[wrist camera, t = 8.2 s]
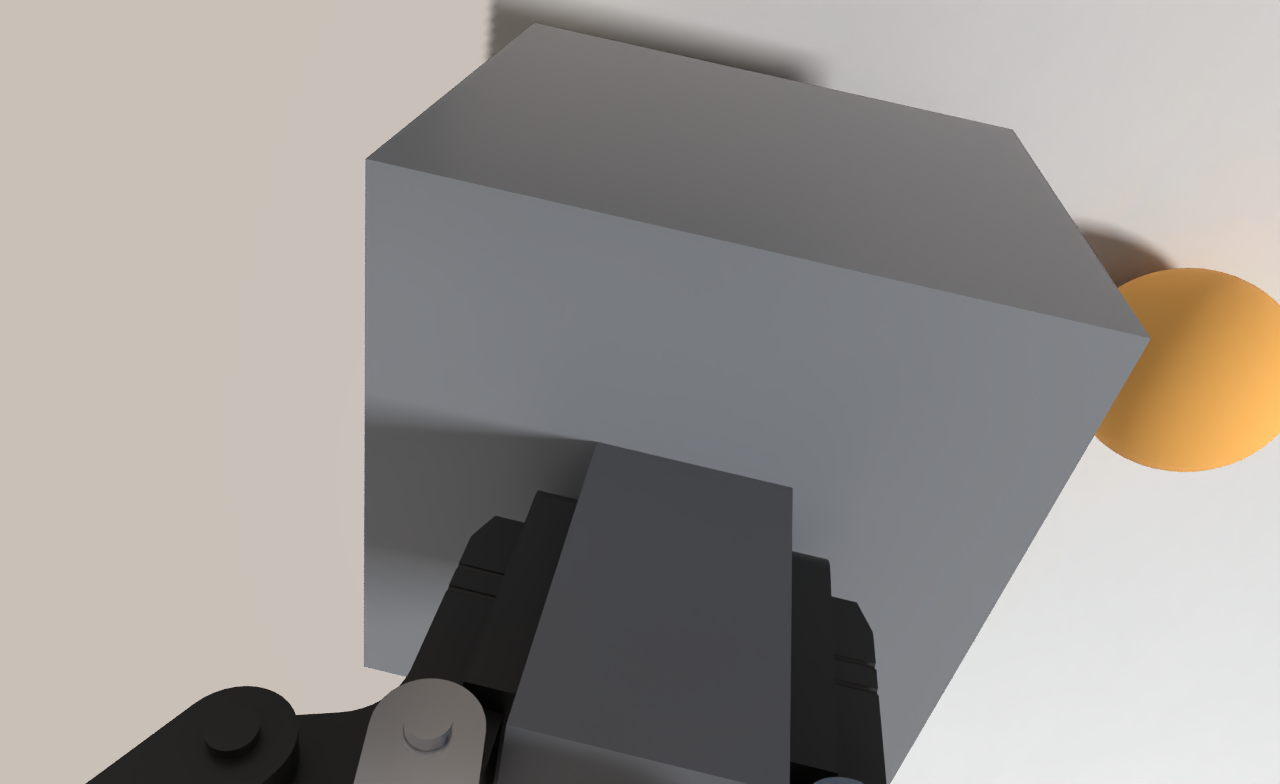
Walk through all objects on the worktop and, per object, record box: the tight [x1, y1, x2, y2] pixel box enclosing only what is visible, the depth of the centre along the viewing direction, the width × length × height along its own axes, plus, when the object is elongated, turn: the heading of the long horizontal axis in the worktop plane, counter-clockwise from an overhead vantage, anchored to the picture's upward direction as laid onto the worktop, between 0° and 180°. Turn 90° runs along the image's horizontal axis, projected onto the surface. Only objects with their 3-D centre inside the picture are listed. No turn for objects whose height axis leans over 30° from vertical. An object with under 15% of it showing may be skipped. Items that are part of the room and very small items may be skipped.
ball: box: [1095, 268, 1280, 472], centre depth 22 cm, size 5×5×5 cm
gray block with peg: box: [364, 23, 1151, 784], centre depth 16 cm, size 10×10×14 cm
